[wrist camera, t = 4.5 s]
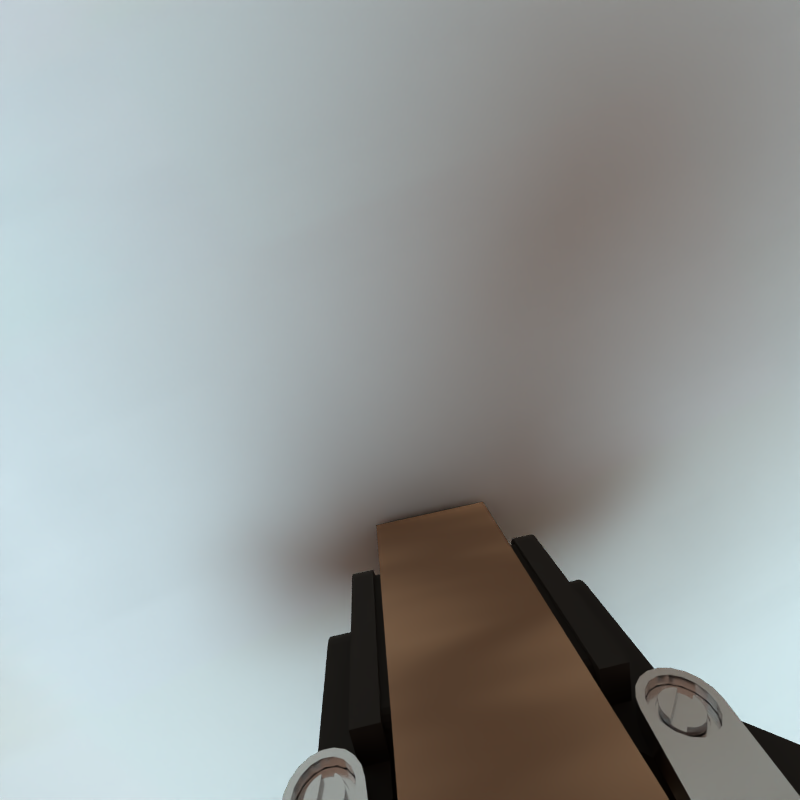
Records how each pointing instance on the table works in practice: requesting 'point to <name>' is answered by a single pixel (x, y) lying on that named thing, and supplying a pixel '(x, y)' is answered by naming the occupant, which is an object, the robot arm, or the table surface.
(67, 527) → the table surface
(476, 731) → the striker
